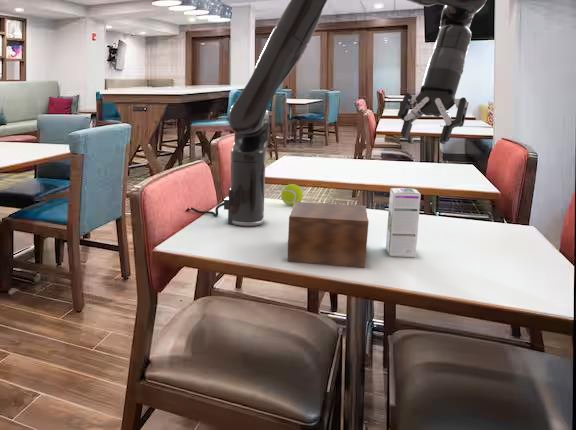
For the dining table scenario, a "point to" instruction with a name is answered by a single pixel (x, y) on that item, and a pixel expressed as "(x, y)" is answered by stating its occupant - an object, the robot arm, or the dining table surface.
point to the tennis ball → (291, 194)
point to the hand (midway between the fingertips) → (423, 140)
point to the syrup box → (403, 222)
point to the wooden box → (328, 234)
